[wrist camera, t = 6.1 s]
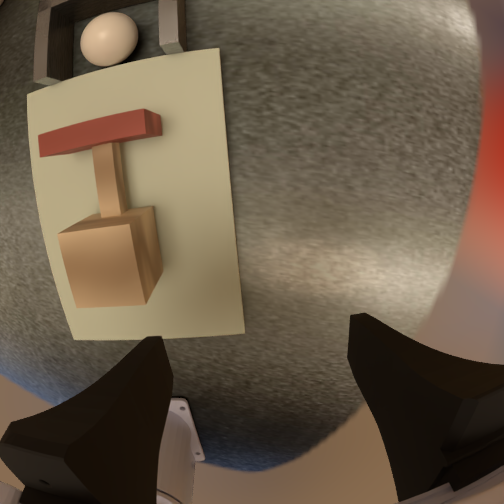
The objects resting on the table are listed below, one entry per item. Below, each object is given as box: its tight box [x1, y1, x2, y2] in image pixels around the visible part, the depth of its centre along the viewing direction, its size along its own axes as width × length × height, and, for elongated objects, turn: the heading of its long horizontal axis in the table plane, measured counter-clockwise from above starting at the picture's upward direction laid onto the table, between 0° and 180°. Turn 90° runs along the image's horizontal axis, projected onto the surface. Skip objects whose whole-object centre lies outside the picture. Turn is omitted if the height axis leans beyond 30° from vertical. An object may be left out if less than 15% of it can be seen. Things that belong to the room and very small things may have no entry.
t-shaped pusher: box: [38, 108, 164, 308], centre depth 15 cm, size 9×6×4 cm, turn 4°
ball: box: [80, 12, 138, 66], centre depth 14 cm, size 4×4×4 cm
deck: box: [27, 48, 245, 340], centre depth 19 cm, size 18×13×2 cm
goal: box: [34, 0, 187, 86], centre depth 14 cm, size 6×9×4 cm, turn 95°
